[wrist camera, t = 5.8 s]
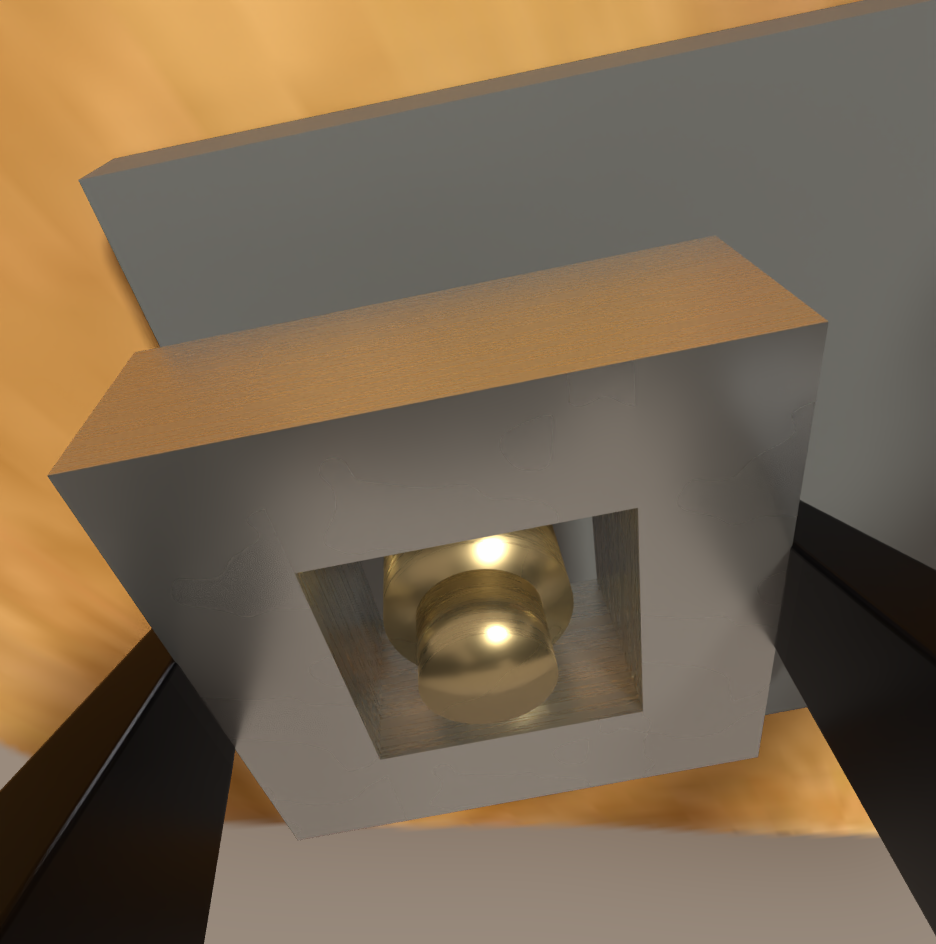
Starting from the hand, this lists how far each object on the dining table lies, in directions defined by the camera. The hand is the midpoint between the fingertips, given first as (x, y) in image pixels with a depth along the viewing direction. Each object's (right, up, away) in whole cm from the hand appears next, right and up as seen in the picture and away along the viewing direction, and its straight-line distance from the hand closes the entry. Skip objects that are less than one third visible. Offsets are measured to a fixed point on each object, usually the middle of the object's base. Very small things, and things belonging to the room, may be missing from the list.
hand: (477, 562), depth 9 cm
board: (+4, +1, +6) cm, 8 cm away
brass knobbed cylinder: (0, +2, +3) cm, 4 cm away
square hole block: (0, +1, +1) cm, 1 cm away
